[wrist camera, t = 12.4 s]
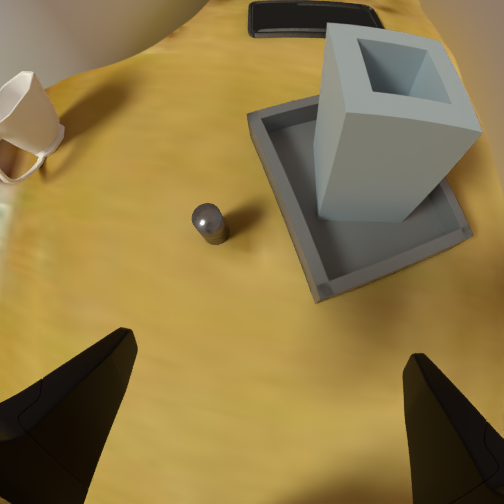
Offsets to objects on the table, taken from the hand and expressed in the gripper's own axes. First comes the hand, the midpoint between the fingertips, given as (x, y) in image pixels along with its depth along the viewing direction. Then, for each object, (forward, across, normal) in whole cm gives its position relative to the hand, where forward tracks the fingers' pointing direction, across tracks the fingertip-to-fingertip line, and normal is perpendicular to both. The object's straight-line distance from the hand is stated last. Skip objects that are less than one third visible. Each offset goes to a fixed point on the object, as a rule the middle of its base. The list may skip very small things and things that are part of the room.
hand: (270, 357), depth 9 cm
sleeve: (+15, -5, -2) cm, 16 cm away
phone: (+31, -2, -16) cm, 35 cm away
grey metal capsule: (+13, +5, +2) cm, 14 cm away
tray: (+16, -5, -1) cm, 16 cm away
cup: (+18, +24, -3) cm, 31 cm away
